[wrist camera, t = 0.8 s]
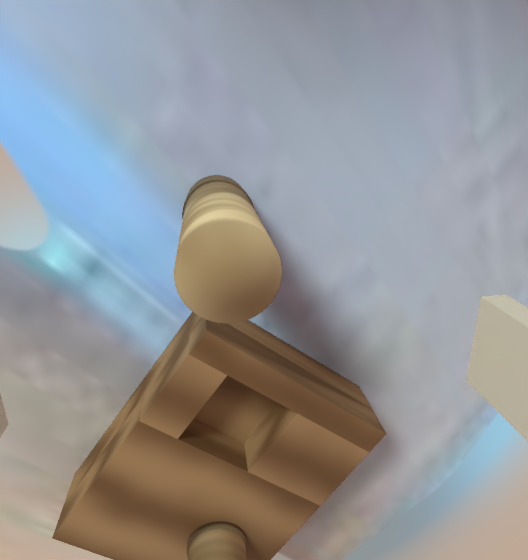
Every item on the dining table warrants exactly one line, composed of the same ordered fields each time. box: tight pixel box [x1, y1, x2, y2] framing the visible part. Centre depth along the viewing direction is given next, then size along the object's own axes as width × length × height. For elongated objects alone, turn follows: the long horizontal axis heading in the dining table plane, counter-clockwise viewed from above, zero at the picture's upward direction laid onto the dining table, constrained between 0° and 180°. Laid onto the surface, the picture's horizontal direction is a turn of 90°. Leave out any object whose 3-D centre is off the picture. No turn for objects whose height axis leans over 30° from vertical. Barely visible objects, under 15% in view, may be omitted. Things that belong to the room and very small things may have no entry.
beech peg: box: [174, 175, 282, 323], centre depth 24 cm, size 5×5×14 cm
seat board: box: [53, 312, 386, 560], centre depth 30 cm, size 20×16×17 cm
